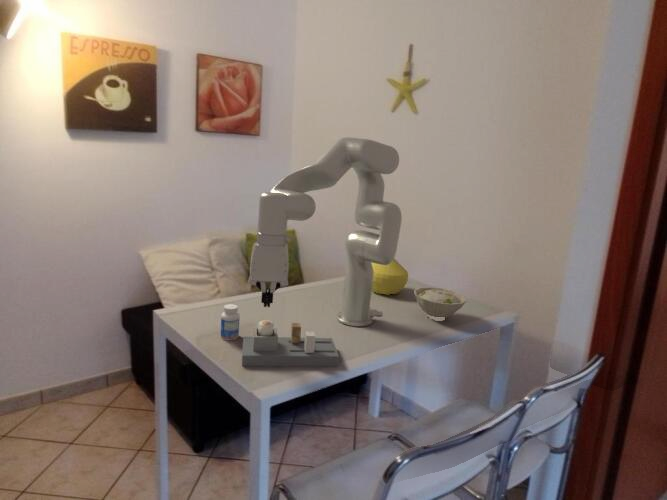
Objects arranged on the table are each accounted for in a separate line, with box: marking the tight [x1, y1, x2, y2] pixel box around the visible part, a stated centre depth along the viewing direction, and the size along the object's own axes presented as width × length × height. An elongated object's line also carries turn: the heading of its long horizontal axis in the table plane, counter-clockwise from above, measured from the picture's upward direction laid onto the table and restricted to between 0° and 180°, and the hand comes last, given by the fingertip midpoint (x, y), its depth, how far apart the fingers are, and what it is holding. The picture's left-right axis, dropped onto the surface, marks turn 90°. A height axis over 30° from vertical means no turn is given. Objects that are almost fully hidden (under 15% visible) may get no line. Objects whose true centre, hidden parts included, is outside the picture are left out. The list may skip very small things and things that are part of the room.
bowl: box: [413, 286, 468, 318], centre depth 174 cm, size 19×19×10 cm
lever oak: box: [290, 322, 302, 344], centre depth 135 cm, size 2×3×5 cm
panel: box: [241, 327, 340, 367], centre depth 132 cm, size 26×12×7 cm, turn 100°
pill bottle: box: [220, 303, 241, 341], centre depth 141 cm, size 6×5×10 cm
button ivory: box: [258, 319, 274, 336], centre depth 130 cm, size 4×4×4 cm
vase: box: [371, 258, 409, 296], centre depth 198 cm, size 18×18×19 cm
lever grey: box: [304, 331, 316, 353], centre depth 130 cm, size 2×3×5 cm
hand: (266, 305), depth 128 cm, fingers closed
